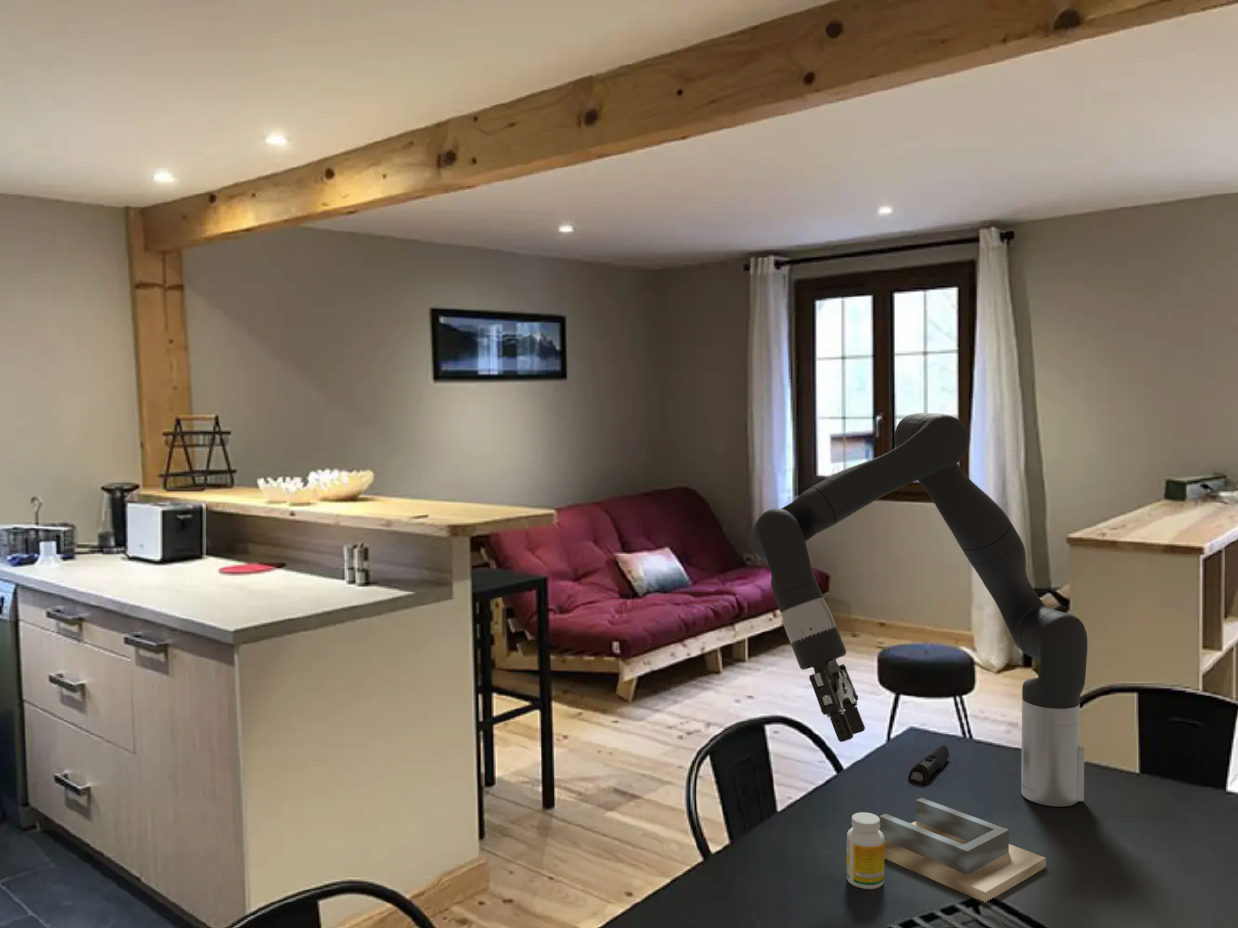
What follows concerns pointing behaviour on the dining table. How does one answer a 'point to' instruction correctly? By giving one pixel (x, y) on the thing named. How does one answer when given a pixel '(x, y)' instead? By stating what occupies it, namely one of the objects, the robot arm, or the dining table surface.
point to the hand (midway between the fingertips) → (853, 736)
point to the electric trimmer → (928, 766)
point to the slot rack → (958, 850)
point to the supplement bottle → (865, 851)
